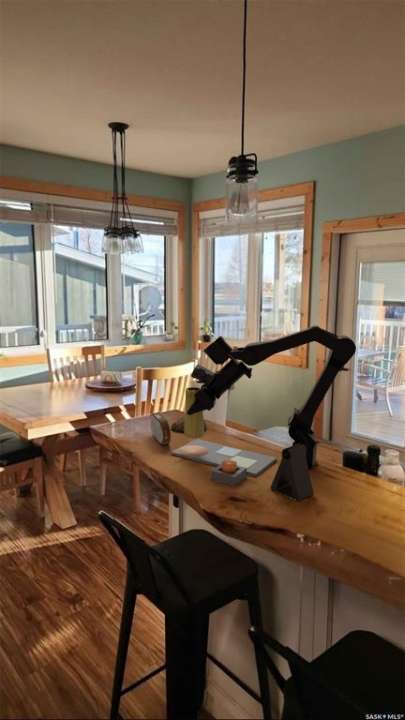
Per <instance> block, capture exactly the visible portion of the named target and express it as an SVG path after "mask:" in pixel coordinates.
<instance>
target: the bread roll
mask: <svg viewBox="0 0 405 720" xmlns="http://www.w3.org/2000/svg"><path fill="white" fill-rule="evenodd" d="M203 422H204V432H205V431H206V428H207V424H206V421H205V420H204V419H203ZM184 426H185V415H183V416H181V417H180V418H178V419H177V420H176V421H174V422H173V423H172V424H171V425H170V431H175V432H179V433H180V432H181V433H184Z"/></svg>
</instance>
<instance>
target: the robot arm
mask: <svg viewBox="0 0 405 720" xmlns="http://www.w3.org/2000/svg"><path fill="white" fill-rule="evenodd" d="M313 342H316V343H318V344H320V345H321V346H323V347H325V348H327V349H329V353H328V355H327V359H326V363H325V365H324V367H323V369H322V371H321V372H320V374H319V376H318V378H317V379H316V380H315V383H314V384H313V387H312V389H311V390H310V392H309V394H308V396H307V397H306V400H305V401H304V403H303V405H302V406H301V407H300V408H299V409H297V408H296V407H294V408H293V410H292V413H291V415H290V416H289V417H288V418H287V427H288V430H287V433H288V436H289V438H291V439H292V440H293V442H292V444H291V446H294V445H297V444H301V445H303V444H304V445H305V447H306V460H307V465H308V469H309V470H312V469H313V468H314V467H315V466H316V465H317V464H318V463H319V462H318V460H317V451H318V450H317V448H318V444H317V440H316V439H317V438H316V432H315V431H314V430H313V429H311V428H312V426H313V422H314V418H315V416H316V413H317V412H318V410H319V408H320V406H321V404H322V402H323V400H324V398H325V397H326V396H327V393H328V391H329V389H330V388H331V386H332V385H333V382H334V380H335V379H336V377H337V375H338V374H339V372H340V371H341V370H342V368H344V367H345V365H347V364H348V362H349V361H350V360H352V357H353V356H354V355H355V354H356V351H357V346H356V343H355V341H354V340H353V339H352V338H351V337H349V336H348V335H345V334H344V335H343V334H342V335H337V334H335V333H333V332H330V331H328V330H325V329H324V328H321V327H320V326H319V325H316V324H315V325H311V326H310V327H308V328H305V329H301V330H299V331H296V332H293V333H290V334H287V335H285V336H284V335H283V336H281V337H278V338H275V339H272V340H264V341H257V342H256V341H255V342H250V343H248V344H246V345H245V346H244V347H243V346H242V347H234V348H232V346H230V344H228V342H227V341H226V340H225V338H224V337H223V336H222V335H220V336H218V337H217V338H216V339H215V340H214V341H212V342H211V343H210V344H209V345H207V347H205V348H204V350H203V351H202V352H203V353H204V354H205V355H206V356H207V357H208V358H209V359H210V360H211V361H212V363H214V364H215V366H217V365H218V366H223V367H222V368H220V369H219V370H217V371H215V372H213V371H212V370H210V369H208V368H207V367H204V366H202V365H200V364H196V366H195V367H194V368H193V370H192V372H191V375H190V377H191V378H192V379H196V380H198V381H200V382H202V383H203V384H201V386H200V389H199V390H198V391H197V392H196V393H195V394H194V396H195V399H196V400H195V402H194V403H193V404H192V406H191V407H190V408H189V410H188V411H187V414H188V415H192V414H195V413H198V412H201V411H203V412H204V411H206V410H207V411H208V412H210V411H211V410H213V409H214V408H215V406H216V404H217V400H219V399H220V398H221V397H222V396H223V395H224V394H225V393H226V392H227V391H229V390H230V389H231V388H232V386H233V385H234V384H236V383H237V382H238V381H239V380H240V379H241V378H242V377H244V375H245V376H246V377H247V378H248V379H251V378H252V376H253V374H252V373H253V366H254V367H255V366H256V365H258V364H260V363H261V362H264V361H266V360H267V359H269V358H270V357H272V356H274V355H276V354H279V353H282V352H285V351H289V350H291V349H295V348H297V347H301V346H303V345H307V344H310V343H313ZM229 359H230V360H229ZM228 360H229V361H228ZM226 362H227V363H226ZM224 364H225V365H224ZM251 366H252V367H251ZM299 446H300V445H299Z"/></svg>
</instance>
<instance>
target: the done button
mask: <svg viewBox="0 0 405 720" xmlns="http://www.w3.org/2000/svg"><path fill="white" fill-rule="evenodd" d="M236 471H237V462H235V461H233V460H224V461H222V472H226V473H235V472H236Z"/></svg>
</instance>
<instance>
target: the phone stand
mask: <svg viewBox="0 0 405 720" xmlns="http://www.w3.org/2000/svg"><path fill="white" fill-rule="evenodd" d="M299 445H300V446H299ZM272 480H273V481H272V483H271V485H270V487H269V488H270V490H271V491H274V492H276V491H277V492H276V493H278V492H279V493H278V494H280V493H281V494H280V495H283V496H285V495H286V496H285V497H287V496H288V497H287V498H289V497H291V498H293V499H292V500H294V499H296V500H298V501H297V502H301V501H302V499H303V500H305V499H307V498H309V497H311V496H313V495H314V494H315V492H314V487H313V483H312V478H311V474H310V469H308V465H307V460H306V447H305V445H304V444H303V445H301V444H297V445H294V446H292V445H291V446H288V447H285V448H283V449H282V451H281V460H280V462H279V465H278V468H277V470H276V472H275V476H274V477H273V479H272ZM308 496H309V497H308ZM306 497H307V498H306ZM291 498H290V499H291ZM304 498H305V499H304ZM296 500H295V501H296Z"/></svg>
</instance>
